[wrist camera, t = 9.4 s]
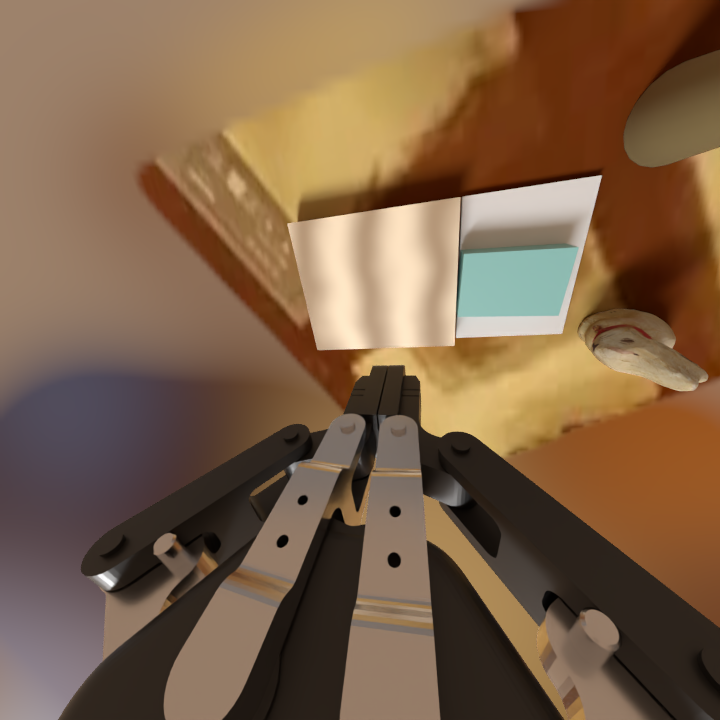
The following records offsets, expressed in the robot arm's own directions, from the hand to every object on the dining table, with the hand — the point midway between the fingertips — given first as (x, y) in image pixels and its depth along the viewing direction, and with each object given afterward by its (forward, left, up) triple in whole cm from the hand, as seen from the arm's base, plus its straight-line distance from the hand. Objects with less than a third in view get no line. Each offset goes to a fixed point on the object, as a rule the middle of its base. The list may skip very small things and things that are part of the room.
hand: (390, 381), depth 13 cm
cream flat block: (+3, 0, -19) cm, 19 cm away
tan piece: (-21, +7, -19) cm, 29 cm away
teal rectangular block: (-10, 0, -19) cm, 21 cm away
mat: (-11, 0, -19) cm, 22 cm away
